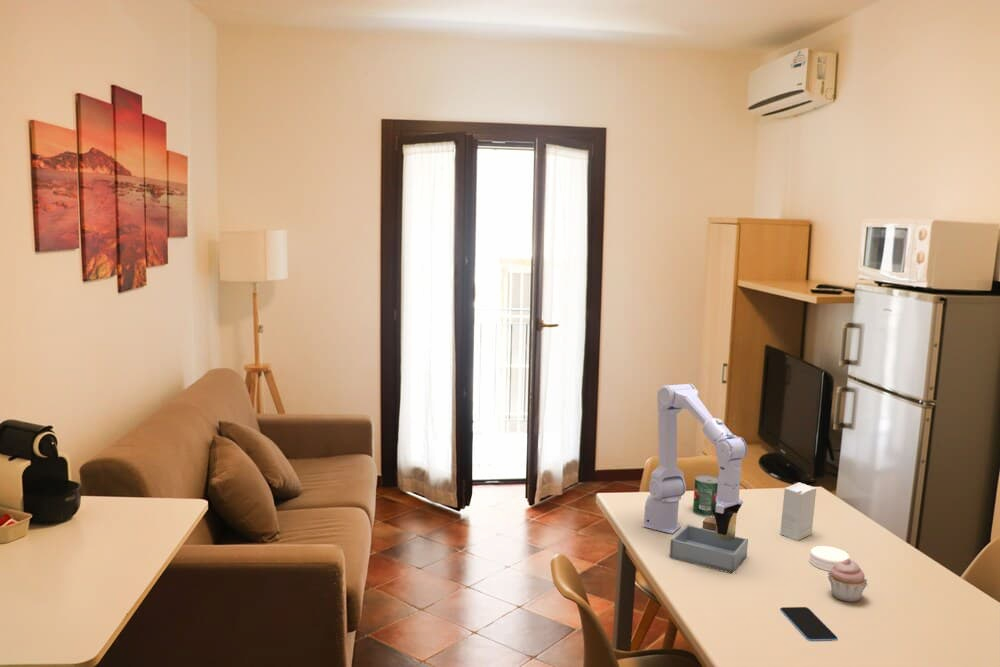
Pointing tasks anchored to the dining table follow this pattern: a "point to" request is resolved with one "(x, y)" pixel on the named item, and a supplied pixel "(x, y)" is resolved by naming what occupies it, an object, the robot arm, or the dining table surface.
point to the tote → (708, 549)
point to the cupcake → (847, 581)
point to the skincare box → (798, 511)
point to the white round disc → (827, 557)
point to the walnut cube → (709, 523)
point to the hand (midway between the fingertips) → (725, 530)
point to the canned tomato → (705, 494)
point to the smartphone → (808, 624)
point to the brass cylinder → (729, 529)
